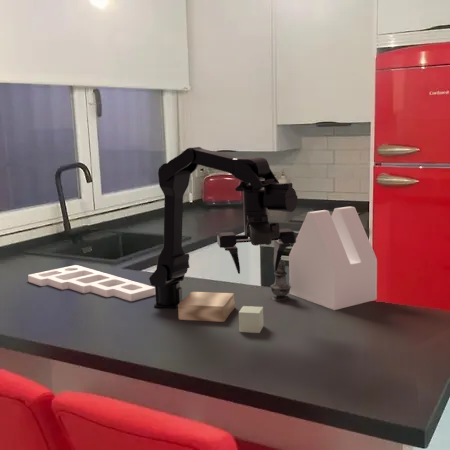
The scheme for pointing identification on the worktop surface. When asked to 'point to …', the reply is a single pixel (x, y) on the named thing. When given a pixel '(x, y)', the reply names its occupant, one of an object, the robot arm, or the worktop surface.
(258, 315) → the sage cube
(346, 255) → the milk carton
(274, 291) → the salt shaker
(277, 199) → the robot arm
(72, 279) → the holder
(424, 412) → the worktop surface
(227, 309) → the oak riser block
